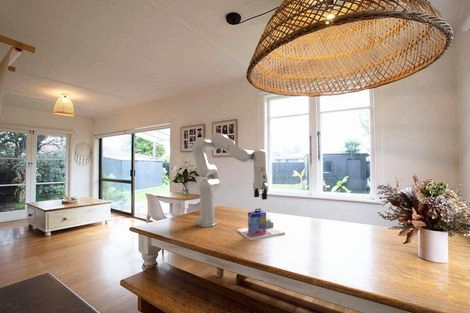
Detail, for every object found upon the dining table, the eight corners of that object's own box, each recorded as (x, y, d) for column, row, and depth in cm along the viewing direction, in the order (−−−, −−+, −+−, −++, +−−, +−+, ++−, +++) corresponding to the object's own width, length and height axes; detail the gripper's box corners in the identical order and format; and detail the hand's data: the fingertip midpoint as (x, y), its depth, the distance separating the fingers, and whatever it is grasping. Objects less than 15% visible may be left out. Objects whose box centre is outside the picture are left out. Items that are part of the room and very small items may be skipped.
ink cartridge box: (252, 235, 125) (251, 209, 125) (247, 232, 130) (247, 208, 130) (266, 232, 129) (266, 208, 129) (261, 230, 134) (261, 206, 134)
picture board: (250, 240, 121) (250, 232, 121) (237, 231, 138) (236, 224, 138) (284, 234, 131) (284, 227, 131) (268, 226, 147) (268, 219, 147)
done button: (265, 224, 139) (265, 220, 139) (262, 223, 143) (262, 219, 143) (270, 224, 141) (270, 219, 141) (267, 222, 144) (267, 218, 144)
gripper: (272, 170, 128) (273, 199, 128) (258, 169, 144) (259, 195, 144) (261, 170, 125) (262, 201, 125) (248, 169, 141) (248, 196, 141)
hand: (260, 198), depth 134 cm, fingers open, 9 cm apart
